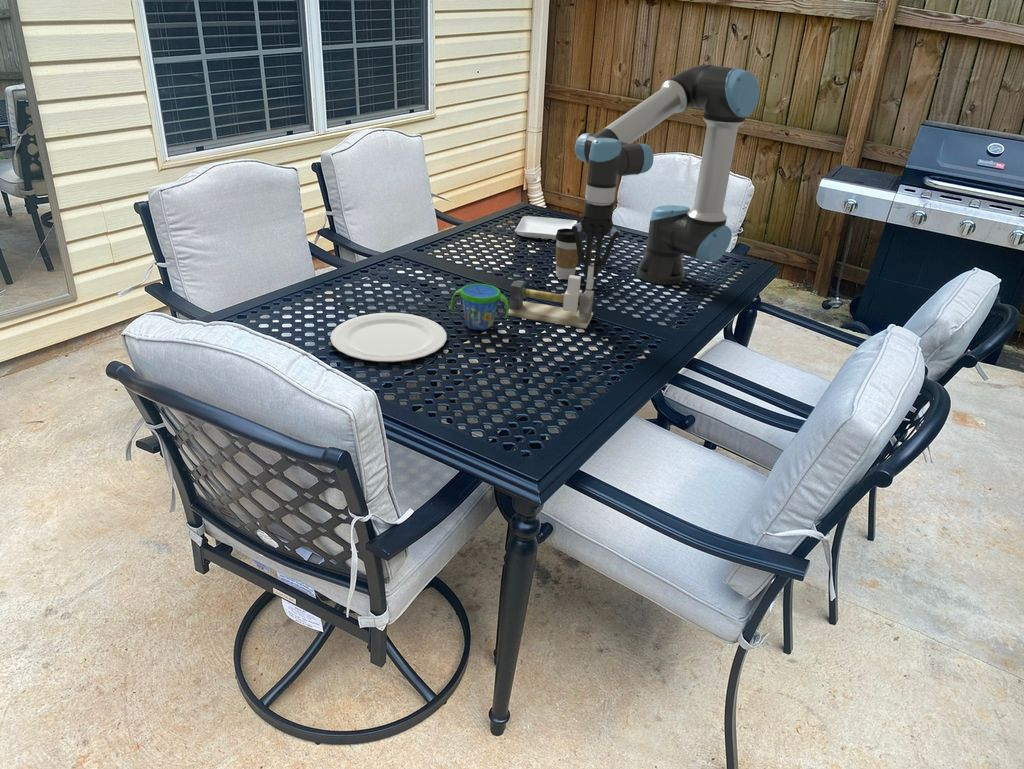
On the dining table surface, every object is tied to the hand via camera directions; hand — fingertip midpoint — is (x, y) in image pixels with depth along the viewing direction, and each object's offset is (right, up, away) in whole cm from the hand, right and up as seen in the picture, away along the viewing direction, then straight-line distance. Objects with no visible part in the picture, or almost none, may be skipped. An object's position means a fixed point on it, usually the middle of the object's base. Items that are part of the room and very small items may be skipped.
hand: (589, 287), depth 201 cm
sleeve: (-5, -5, +4) cm, 8 cm away
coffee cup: (-4, +8, +36) cm, 37 cm away
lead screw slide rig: (-10, -7, +7) cm, 14 cm away
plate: (-52, -16, -13) cm, 56 cm away
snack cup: (-30, -11, -2) cm, 32 cm away
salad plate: (-8, +30, +76) cm, 83 cm away
